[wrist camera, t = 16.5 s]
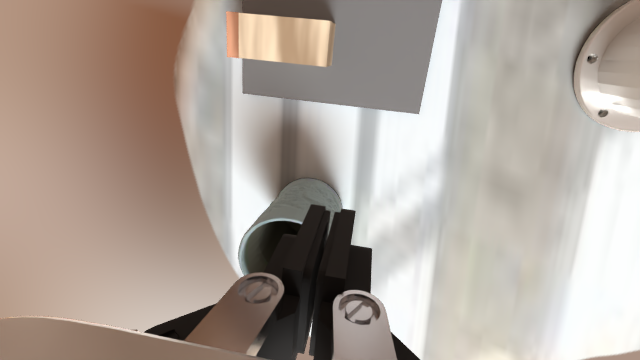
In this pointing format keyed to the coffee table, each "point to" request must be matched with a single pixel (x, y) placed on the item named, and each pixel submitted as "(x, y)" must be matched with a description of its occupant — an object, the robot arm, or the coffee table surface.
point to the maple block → (280, 39)
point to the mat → (354, 54)
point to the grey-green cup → (283, 221)
